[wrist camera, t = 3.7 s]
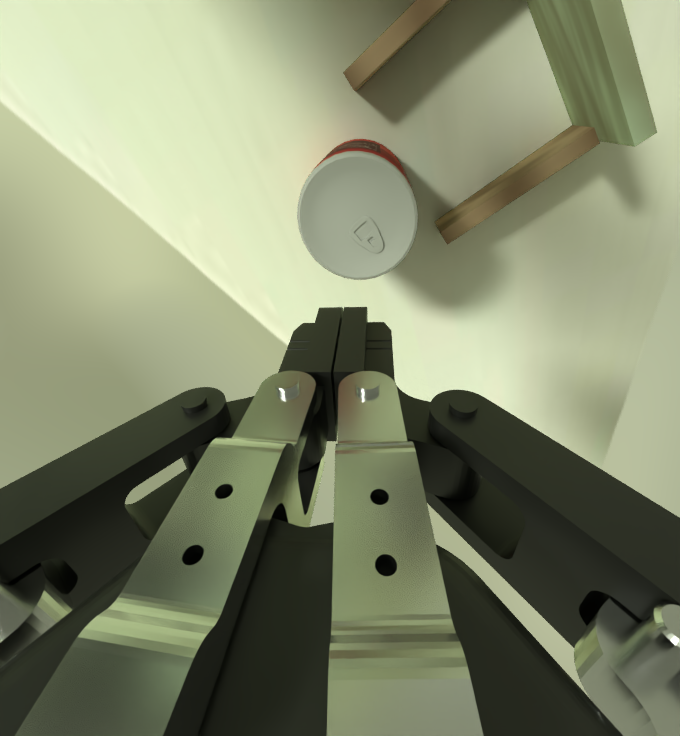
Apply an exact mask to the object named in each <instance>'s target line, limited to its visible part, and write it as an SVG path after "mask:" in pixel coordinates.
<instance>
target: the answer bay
mask: <svg viewBox="0 0 680 736" xmlns="http://www.w3.org/2000/svg"><path fill="white" fill-rule="evenodd" d="M451 1H452V0H416V1H415V2H414V3H413V4H412V5H411V6H410V7H409V8H408V9H407V10H406V11H405V12H404V13H403V14H402V15H401V16H400V17H399V18H398V19H397V20H396V21H395V22H394V23H393V24H392V25H391V26H390V27H389V28H388V29H387V30H386V31H385V32H384V33H383V34H382V35H381V36H380V37H379V38H378V39H377V40H376V41H375V42H374V43H373V44H372V45H371V46H370V47H369V48H368V49H367V50H366V51H365V52H364V53H363V54H362V55H361V56H360V57H358V58H357V59H356V60H355V61H354V62H353V63H352V64H351V65H350V66H349V67H348V68H347V69H346V70H345V71H344V72H343V73H344V75H345V77H346V78H347V80H348V81H349V83H350V85H351V86H352V88H353V90H354V91H357V90H358V89H359V88H360V87H361V86H362V85H363V84H364V83H365V82H366V81H367V80H368V79H370V78H371V77H372V76H373V75H374V74H375V73H376V72H377V71H378V70H379V69H380V68H381V67H382V66H383V65H384V64H385V63H386V62H387V61H388V60H389V59H391V58H392V57H393V56H394V55H395V54H396V53H397V52H398V51H399V50H400V49H401V48H402V47H403V46H404V45H405V44H406V43H407V42H408V41H409V40H411V39H412V38H413V37H414V36H415V35H416V34H417V33H418V32H419V31H420V30H421V29H422V28H423V27H424V26H425V25H426V24H427V23H428V22H429V21H431V20H432V19H433V18H434V17H435V16H436V15H437V14H438V13H439V12H440V11H441V10H442V9H443V8H444V7H445V6H446V5H447V4H448V3H449V2H451ZM526 1H527V4H528V6H529V9H530V12H531V14H532V17H533V20H534V22H535V25H536V28H537V30H538V33H539V36H540V39H541V41H542V44H543V47H544V49H545V52H546V55H547V57H548V60H549V63H550V65H551V68H552V71H553V74H554V76H555V79H556V82H557V84H558V87H559V90H560V92H561V95H562V98H563V100H564V103H565V106H566V109H567V111H568V114H569V117H570V119H571V122H572V126H571V127H569V128H568V129H566V130H565V131H564V132H562V133H561V134H559V135H558V136H556V137H555V138H554V139H552V140H551V141H549V142H548V143H546V144H545V145H544V146H542V147H541V148H539V149H538V150H536V151H535V152H534V153H532V154H531V155H529V156H528V157H527V158H525V159H524V160H522V161H521V162H519V163H518V164H517V165H515V166H514V167H512V168H511V169H509V170H508V171H507V172H505V173H504V174H502V175H501V176H499V177H498V178H497V179H495V180H494V181H492V182H491V183H489V184H488V185H487V186H485V187H484V188H482V189H481V190H479V191H478V192H477V193H475V194H474V195H472V196H471V197H469V198H468V199H467V200H465V201H464V202H462V203H461V204H459V205H458V206H457V207H455V208H454V209H452V210H451V211H449V212H448V213H447V214H445V215H444V216H442V217H441V218H439V219H438V220H437V221H435V224H436V226H437V228H438V230H439V231H440V233H441V235H442V237H443V238H444V240H445V242H446V243H447V244H449V243H450V242H452V241H453V240H455V239H456V238H458V237H459V236H461V235H462V234H464V233H465V232H467V231H468V230H470V229H471V228H473V227H474V226H476V225H477V224H479V223H480V222H482V221H483V220H485V219H486V218H488V217H489V216H491V215H492V214H494V213H496V212H497V211H499V210H500V209H502V208H503V207H505V206H506V205H508V204H509V203H511V202H512V201H514V200H515V199H517V198H518V197H520V196H521V195H523V194H524V193H526V192H527V191H529V190H530V189H532V188H533V187H535V186H536V185H538V184H539V183H541V182H542V181H544V180H545V179H547V178H548V177H550V176H551V175H553V174H554V173H556V172H557V171H559V170H560V169H562V168H563V167H565V166H566V165H568V164H569V163H571V162H572V161H574V160H575V159H577V158H578V157H580V156H581V155H583V154H584V153H586V152H588V151H589V150H591V149H592V148H594V147H595V146H597V145H598V144H600V142H599V141H604V142H610V143H616V144H622V145H628V146H634V147H635V146H637V145H638V144H640V143H641V142H643V141H644V140H646V139H648V138H649V137H651V136H652V135H654V134H655V133H657V130H656V126H655V123H654V119H653V115H652V112H651V108H650V104H649V101H648V97H647V93H646V90H645V86H644V82H643V79H642V75H641V71H640V68H639V64H638V60H637V57H636V53H635V49H634V46H633V42H632V38H631V35H630V31H629V27H628V24H627V20H626V16H625V13H624V9H623V6H622V2H621V0H526Z"/></svg>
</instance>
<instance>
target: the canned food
mask: <svg viewBox="0 0 680 736" xmlns="http://www.w3.org/2000/svg"><path fill="white" fill-rule="evenodd" d="M297 218H298V225H299V231H300V234H301V237H302V240H303V242H304V244H305V246H306V248H307V249H308V251H309V253H310V254H311V255H312V256H313V258H314V259H315V260H316V261H317V262H318V263H319V264H320V265H322V266H323V267H324V268H325V269H327V270H329V271H330V272H332V273H334V274H336V275H339V276H341V277H344V278H349V279H354V280H365V279H371V278H376V277H378V276H381V275H383V274H386V273H387V272H389V271H390V270H392V269H393V268H395V267H396V266H397V265H398V264H399V263H400V262H401V261H402V260H403V259H404V258H405V256H406V255H407V253H408V252H409V250H410V248H411V246H412V244H413V242H414V239H415V235H416V231H417V224H418V210H417V204H416V199H415V196H414V193H413V190H412V187H411V185H410V182H409V180H408V178H407V176H406V174H405V172H404V170H403V168H402V166H401V164H400V162H399V161H398V159H397V158H396V156H395V155H394V154H393V153H392V152H391V151H390V150H389V149H387V148H386V147H385V146H383V145H382V144H379V143H377V142H375V141H372V140H366V139H354V140H350V141H347V142H344V143H342V144H340V145H339V146H337V147H336V148H334V149H333V150H332V151H331V152H330V153H329V154H328V155H327V156H326V157H325V158H324V159H323V160H322V161H321V162H320V163H319V164H318V165H317V166H316V167H315V168H314V170H313V171H312V172H311V174H310V175H309V177H308V178H307V179H306V181H305V184H304V186H303V188H302V190H301V194H300V198H299V202H298V214H297Z"/></svg>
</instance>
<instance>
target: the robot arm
mask: <svg viewBox="0 0 680 736" xmlns="http://www.w3.org/2000/svg"><path fill="white" fill-rule="evenodd" d="M337 432H338V444H336V447H335V488H334V492H335V493H334V522H333V523H328V524H323V525H317V526H312V527H310V522H311V518H312V514H313V510H314V506H315V502H316V498H317V494H318V489H319V485H320V481H321V477H322V473H323V469H324V463H325V462H324V454H325V449H326V442H327V441H336V440H337ZM180 458H182V459H183V461H184V463H185V465H186V468H187V469H186V470H184V471H183V472H181V473H180V474H179V475H177V476H175V477H174V478H172V479H171V480H169V481H168V482H166V483H165V484H163V485H162V486H160V487H159V488H157V489H156V490H154V491H153V492H151V493H150V494H148V495H147V496H145V497H144V498H142V499H141V500H139V501H137V502H135V503H133V504H128V505H126V504H125V499H126V497H127V495H128V494H129V493H130V491H131V490H132V489H133V488H135V487H136V486H137V485H139V484H141V483H142V482H144V481H145V480H146V479H148V478H149V477H152V476H153V475H155V474H156V473H158V472H159V471H161V470H163V469H164V468H166V467H167V466H169V465H171V464H172V463H174V462H175V461H177V460H178V459H180ZM427 503H428V504H429V505H430V506H431V507H432V508H433V509H434V510H435V511H436V512H437V513H438V514H439V515H440V516H441V517H442V518H443V519H444V520H445V521H446V522H447V523H448V524H449V525H450V526H451V527H452V528H453V529H454V530H455V531H456V532H457V533H458V534H459V535H460V536H461V537H462V538H463V539H464V540H465V541H466V542H467V543H468V544H469V545H470V546H471V547H472V548H473V549H474V550H475V551H476V552H477V553H478V554H479V555H480V556H482V557H483V559H485V560H486V562H487V563H489V564H490V565H491V566H492V567H493V568H494V569H495V570H496V571H497V572H498V573H499V574H500V575H501V576H502V577H503V578H504V579H505V580H506V581H507V582H508V583H509V584H510V585H511V586H512V587H513V588H514V589H515V590H516V591H517V592H518V593H519V594H520V595H521V596H522V597H523V598H524V599H525V600H526V601H527V602H528V603H529V604H530V605H531V606H532V607H533V608H534V609H535V610H536V611H537V612H538V613H539V614H540V615H541V616H542V617H543V618H544V619H545V620H546V621H547V622H548V623H549V624H550V625H551V626H552V627H553V628H554V629H555V630H556V631H557V632H558V633H559V634H560V635H561V636H563V638H565V640H566V641H567V642H569V643H570V644H571V645H572V646H573V647H574V648H575V649H574V662H575V666H576V670H577V673H578V676H579V679H580V681H581V683H582V685H583V687H584V689H585V691H586V692H587V694H588V696H589V697H590V699H589V697H588V696H587V695H586V694H585V693H584V692H583V691H582V690H581V688H580V687H579V686H578V685H577V684H576V683H575V682H574V681H573V680H572V679H571V677H570V676H569V675H568V674H567V673H566V672H565V671H564V670H563V669H562V667H561V666H560V665H559V664H558V663H557V662H556V661H555V660H554V659H553V658H552V656H550V654H549V653H548V652H547V651H546V650H545V649H544V648H543V647H542V645H540V643H539V642H538V641H537V640H536V639H535V638H534V637H533V636H532V634H531V633H530V632H529V631H528V630H527V629H526V628H525V627H524V626H523V625H522V624H521V622H520V621H519V620H518V619H517V618H516V617H515V616H514V615H513V614H512V613H511V611H510V610H509V609H508V608H507V607H506V606H505V605H504V604H503V603H502V601H501V600H500V599H499V598H498V597H497V596H496V595H495V594H494V593H493V592H492V590H491V589H490V588H489V587H488V586H487V585H486V584H485V583H484V582H483V580H482V579H481V578H480V577H479V576H478V575H477V574H476V573H475V572H474V571H473V570H472V569H470V568H469V567H468V566H467V565H466V564H465V563H464V562H463V561H461V560H460V559H458V558H457V557H456V556H454V555H453V554H452V553H450V552H449V551H447V550H445V549H444V548H442V547H440V546H438V545H436V544H435V539H434V534H433V530H432V525H431V521H430V516H429V511H428V506H427ZM591 700H592V701H591ZM0 736H680V518H679V517H677V516H675V515H674V514H672V513H671V512H669V511H668V510H666V509H664V508H663V507H661V506H660V505H658V504H656V503H655V502H653V501H651V500H650V499H648V498H647V497H645V496H643V495H642V494H640V493H638V492H637V491H635V490H634V489H632V488H630V487H629V486H627V485H626V484H624V483H622V482H621V481H619V480H617V479H616V478H614V477H612V476H611V475H609V474H608V473H606V472H604V471H603V470H601V469H600V468H598V467H596V466H595V465H593V464H591V463H590V462H588V461H587V460H585V459H583V458H582V457H580V456H578V455H577V454H575V453H574V452H572V451H570V450H569V449H567V448H565V447H564V446H562V445H561V444H559V443H557V442H556V441H554V440H552V439H551V438H549V437H548V436H546V435H544V434H543V433H541V432H540V431H538V430H536V429H535V428H533V427H531V426H530V425H528V424H527V423H525V422H523V421H522V420H520V419H518V418H517V417H515V416H514V415H512V414H510V413H509V412H507V411H505V410H504V409H502V408H501V407H499V406H497V405H496V404H494V403H492V402H491V401H489V400H488V399H486V398H484V397H482V396H481V395H479V394H476V393H473V392H470V391H465V390H449V391H445V392H442V393H440V394H438V395H436V396H435V397H434V398H433V399H432V401H431V402H428V401H423V400H419V399H416V398H413V397H410V396H408V395H407V394H405V393H403V392H402V391H401V390H400V389H399V388H398V387H397V385H396V383H395V380H394V365H393V350H392V335H391V330H390V329H389V327H388V326H387V325H386V324H385V323H384V322H367V307H344V310H343V308H342V307H337V308H319V310H318V314H317V317H316V321H315V323H303V324H302V325H300V326H299V327H298V328H297V329H296V330H295V331H294V332H293V334H292V337H291V340H290V342H289V345H288V348H287V351H286V353H285V356H284V359H283V361H282V364H281V367H280V369H279V372H278V373H277V374H274V375H272V376H270V377H268V378H267V379H265V380H264V381H263V382H262V384H261V385H260V387H259V389H258V391H257V392H256V394H255V396H253V397H249V398H244V399H240V400H235V401H230V402H226V399H225V396H224V394H223V393H222V392H221V391H220V390H218V389H215V388H210V387H202V388H195V389H191V390H188V391H185V392H183V393H181V394H179V395H177V396H176V397H174V398H172V399H170V400H168V401H166V402H164V403H162V404H161V405H158V406H156V407H154V408H153V409H151V410H149V411H147V412H145V413H143V414H141V415H139V416H138V417H136V418H134V419H132V420H130V421H128V422H126V423H124V424H122V425H120V426H118V427H117V428H115V429H113V430H111V431H109V432H107V433H105V434H103V435H101V436H99V437H98V438H96V439H94V440H92V441H90V442H88V443H86V444H84V445H82V446H81V447H79V448H77V449H75V450H73V451H71V452H69V453H67V454H65V455H64V456H62V457H60V458H58V459H56V460H54V461H52V462H50V463H48V464H46V465H45V466H43V467H41V468H39V469H37V470H35V471H33V472H31V473H29V474H28V475H26V476H24V477H22V478H20V479H18V480H16V481H14V482H12V483H10V484H9V485H7V486H5V487H3V488H1V489H0Z"/></svg>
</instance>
